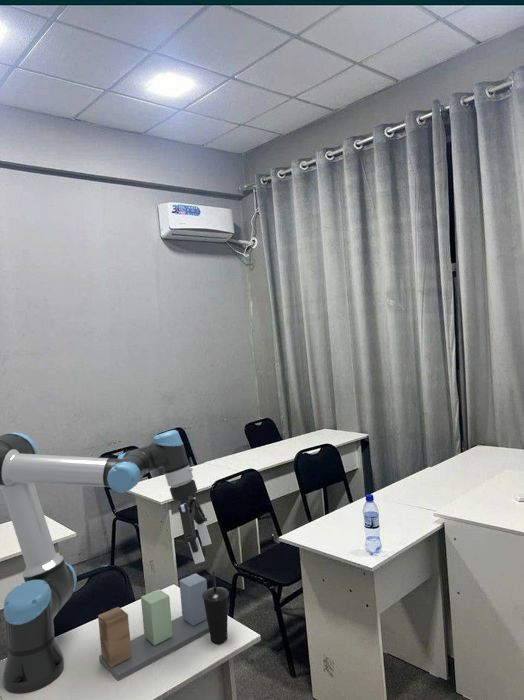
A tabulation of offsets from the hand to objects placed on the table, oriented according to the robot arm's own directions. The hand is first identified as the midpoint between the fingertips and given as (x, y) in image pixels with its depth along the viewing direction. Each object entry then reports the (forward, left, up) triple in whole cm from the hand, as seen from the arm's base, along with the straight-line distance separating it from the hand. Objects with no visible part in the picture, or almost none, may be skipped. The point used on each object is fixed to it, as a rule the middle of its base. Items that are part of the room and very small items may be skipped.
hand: (203, 553), depth 150 cm
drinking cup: (+2, +1, -26) cm, 26 cm away
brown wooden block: (-10, -25, -24) cm, 36 cm away
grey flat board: (-9, -12, -25) cm, 29 cm away
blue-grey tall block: (-10, +1, -24) cm, 26 cm away
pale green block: (-10, -12, -24) cm, 28 cm away
